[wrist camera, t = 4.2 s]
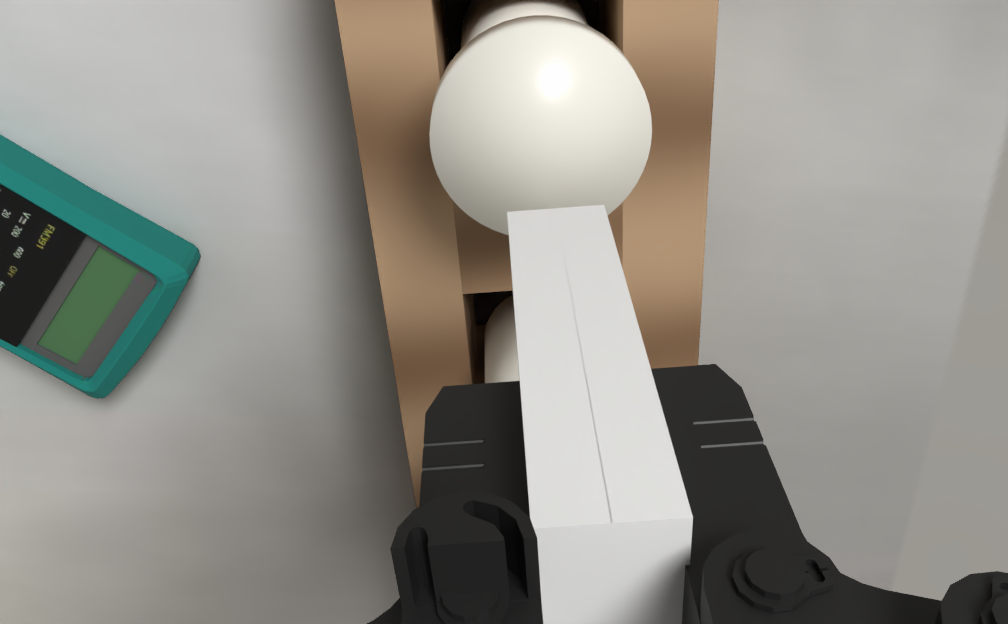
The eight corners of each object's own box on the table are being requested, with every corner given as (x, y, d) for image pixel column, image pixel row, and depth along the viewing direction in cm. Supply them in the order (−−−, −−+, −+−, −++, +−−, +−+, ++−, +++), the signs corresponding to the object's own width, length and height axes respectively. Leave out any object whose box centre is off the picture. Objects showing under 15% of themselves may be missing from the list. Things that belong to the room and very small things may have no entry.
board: (342, -165, 27) (310, -148, 22) (680, -192, 26) (728, -180, 21) (445, 551, 42) (441, 660, 37) (657, 537, 42) (682, 645, 37)
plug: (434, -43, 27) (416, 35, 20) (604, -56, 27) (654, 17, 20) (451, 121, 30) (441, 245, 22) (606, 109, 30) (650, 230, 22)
